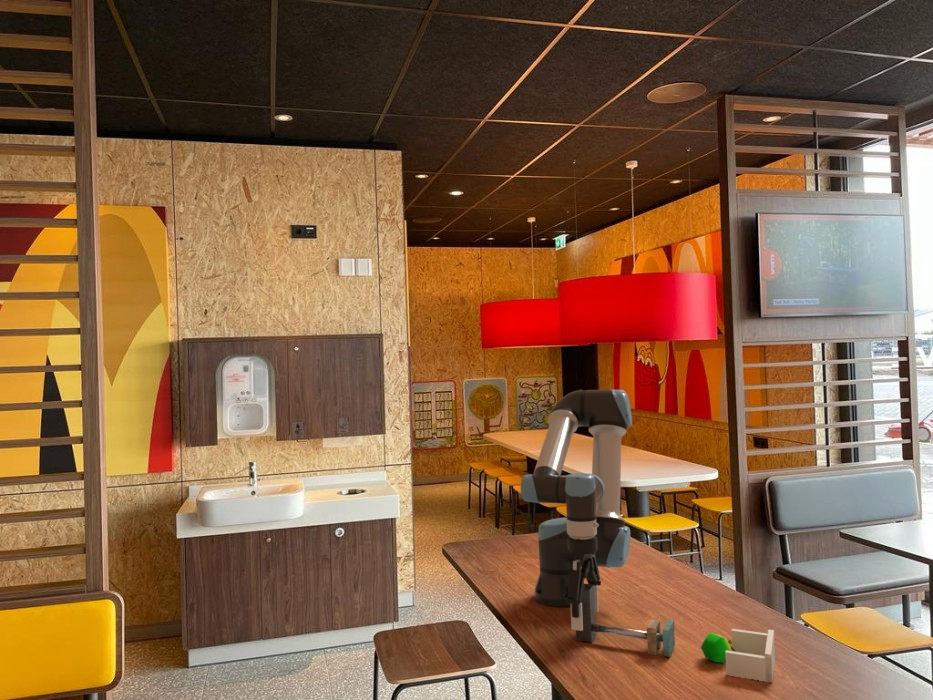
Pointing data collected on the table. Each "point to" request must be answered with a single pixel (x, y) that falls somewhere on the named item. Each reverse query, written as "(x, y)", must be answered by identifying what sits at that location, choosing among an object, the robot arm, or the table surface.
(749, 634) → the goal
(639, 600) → the table surface
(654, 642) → the bearing block
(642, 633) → the piston
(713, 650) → the apple
